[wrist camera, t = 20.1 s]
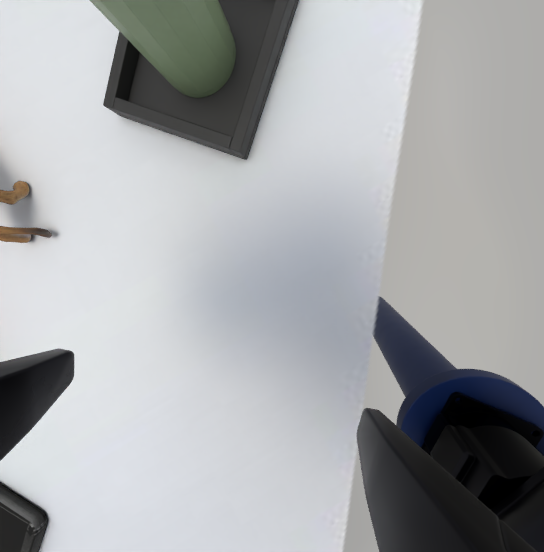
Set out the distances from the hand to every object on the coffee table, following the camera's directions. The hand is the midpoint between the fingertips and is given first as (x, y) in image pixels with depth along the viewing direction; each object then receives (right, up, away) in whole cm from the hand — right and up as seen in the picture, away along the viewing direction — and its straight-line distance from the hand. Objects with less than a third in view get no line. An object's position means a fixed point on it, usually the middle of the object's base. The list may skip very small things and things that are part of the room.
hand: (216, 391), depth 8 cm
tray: (-3, +19, +11) cm, 22 cm away
